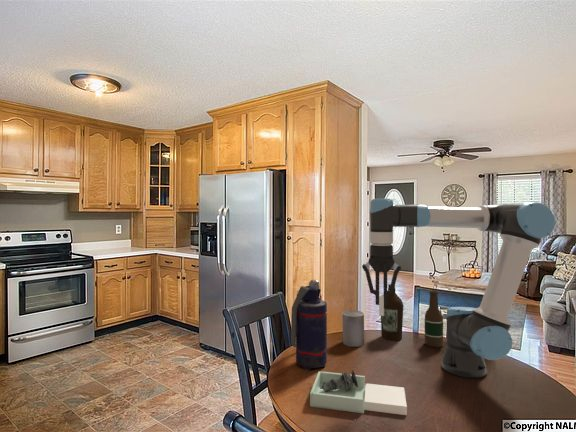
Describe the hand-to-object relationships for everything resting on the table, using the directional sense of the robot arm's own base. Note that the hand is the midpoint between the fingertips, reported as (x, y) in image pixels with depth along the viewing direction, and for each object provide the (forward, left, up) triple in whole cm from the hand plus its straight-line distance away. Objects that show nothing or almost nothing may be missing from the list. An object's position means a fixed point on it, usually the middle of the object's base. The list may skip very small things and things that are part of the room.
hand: (381, 314), depth 122 cm
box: (+13, +10, -24) cm, 29 cm away
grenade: (+27, -12, -25) cm, 38 cm away
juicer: (+28, -30, -25) cm, 48 cm away
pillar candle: (+12, -40, -25) cm, 48 cm away
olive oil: (-5, -52, -25) cm, 58 cm away
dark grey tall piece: (+8, +5, -20) cm, 22 cm away
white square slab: (-1, +10, -24) cm, 26 cm away
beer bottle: (-23, -47, -25) cm, 58 cm away
